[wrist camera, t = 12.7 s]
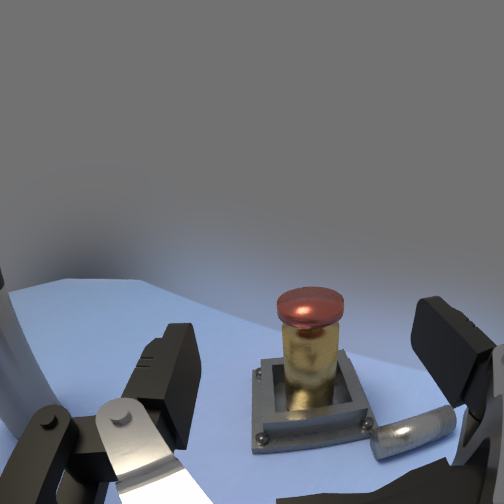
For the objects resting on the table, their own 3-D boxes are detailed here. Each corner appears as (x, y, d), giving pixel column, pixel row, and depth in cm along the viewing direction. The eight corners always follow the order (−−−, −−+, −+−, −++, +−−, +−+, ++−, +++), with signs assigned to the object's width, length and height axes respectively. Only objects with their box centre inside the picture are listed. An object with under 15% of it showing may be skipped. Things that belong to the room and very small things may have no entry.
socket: (252, 454, 22) (248, 434, 21) (253, 375, 34) (250, 354, 33) (377, 435, 22) (384, 413, 21) (348, 364, 33) (350, 342, 32)
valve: (284, 422, 25) (279, 321, 21) (281, 385, 30) (274, 289, 26) (340, 414, 24) (352, 313, 21) (330, 379, 30) (334, 283, 26)
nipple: (367, 431, 22) (372, 460, 20) (377, 425, 20) (383, 458, 17) (437, 409, 22) (443, 436, 19) (451, 400, 19) (459, 430, 17)
